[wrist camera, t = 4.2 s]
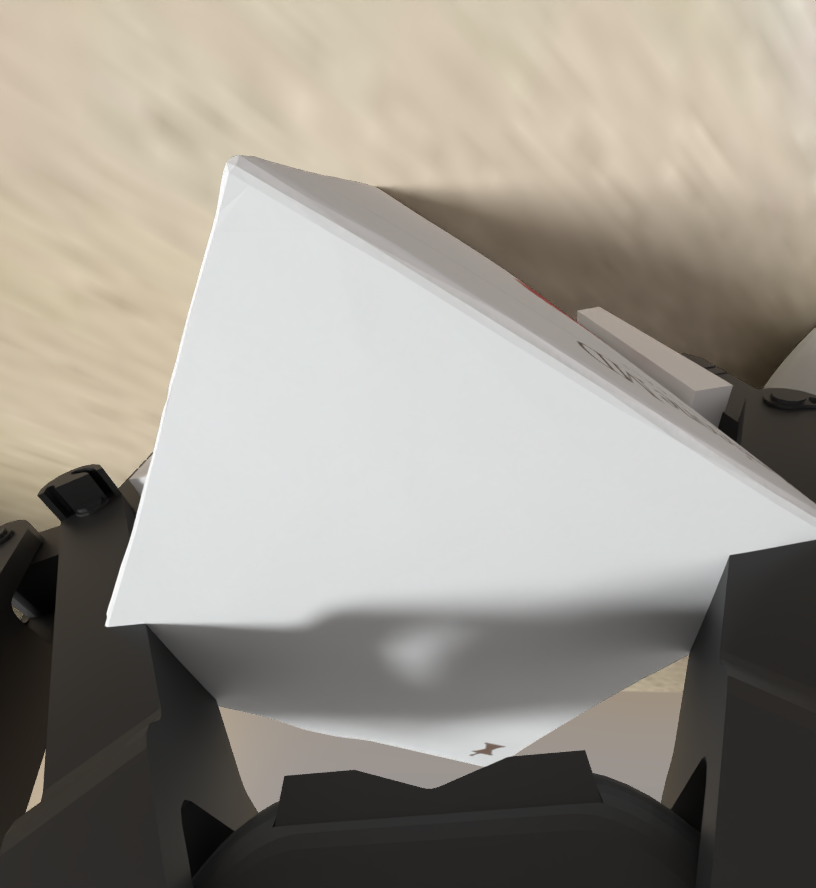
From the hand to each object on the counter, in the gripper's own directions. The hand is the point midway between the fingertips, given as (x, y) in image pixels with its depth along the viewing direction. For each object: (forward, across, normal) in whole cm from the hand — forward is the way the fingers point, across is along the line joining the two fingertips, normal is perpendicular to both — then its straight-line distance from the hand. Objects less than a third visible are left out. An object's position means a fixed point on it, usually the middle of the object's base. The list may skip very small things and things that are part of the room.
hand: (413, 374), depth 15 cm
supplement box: (+5, 0, 0) cm, 5 cm away
